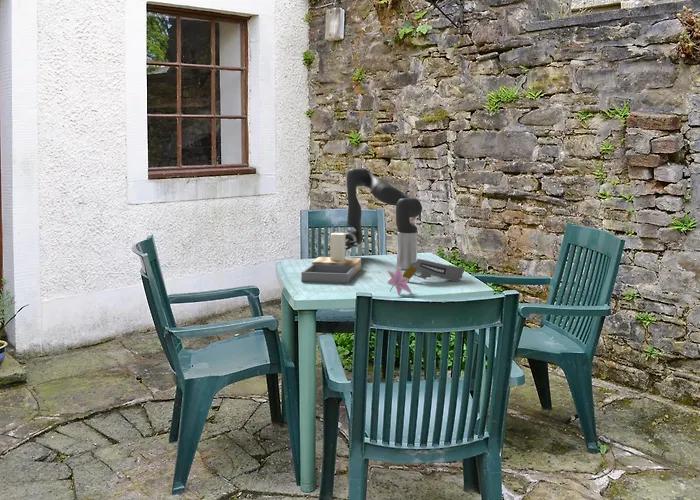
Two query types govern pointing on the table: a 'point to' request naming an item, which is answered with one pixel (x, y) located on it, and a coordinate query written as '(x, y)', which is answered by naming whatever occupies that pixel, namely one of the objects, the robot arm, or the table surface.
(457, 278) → the gun
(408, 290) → the lily
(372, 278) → the table surface
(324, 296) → the table surface
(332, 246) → the cream block
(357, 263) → the tan flat block
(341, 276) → the box
